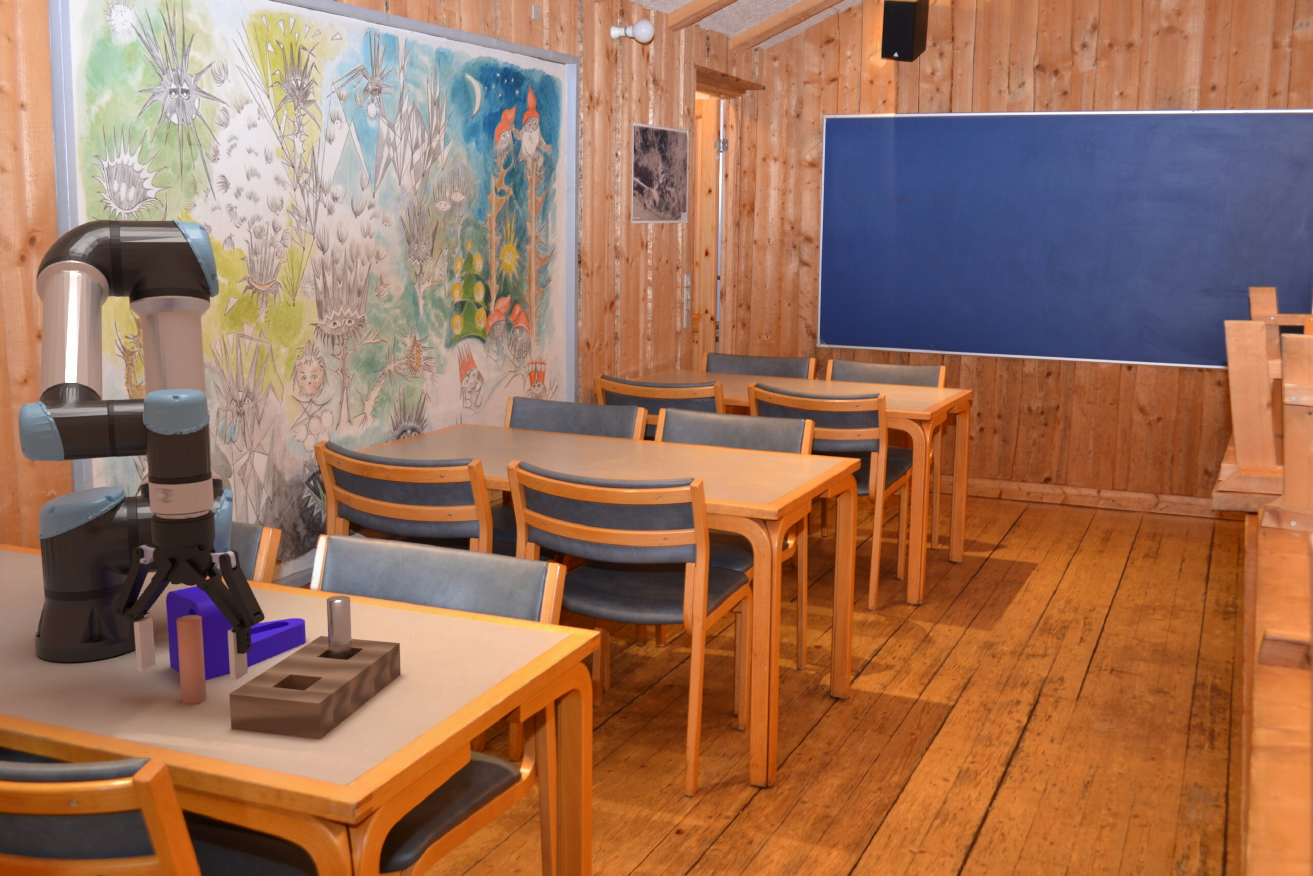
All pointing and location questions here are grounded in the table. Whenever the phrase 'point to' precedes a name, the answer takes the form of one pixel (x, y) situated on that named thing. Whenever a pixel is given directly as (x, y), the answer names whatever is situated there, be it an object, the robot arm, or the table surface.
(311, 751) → the table surface
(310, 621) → the table surface
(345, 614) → the grey peg
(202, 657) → the peg
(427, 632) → the table surface
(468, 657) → the table surface
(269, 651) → the bracket
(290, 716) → the hole block
